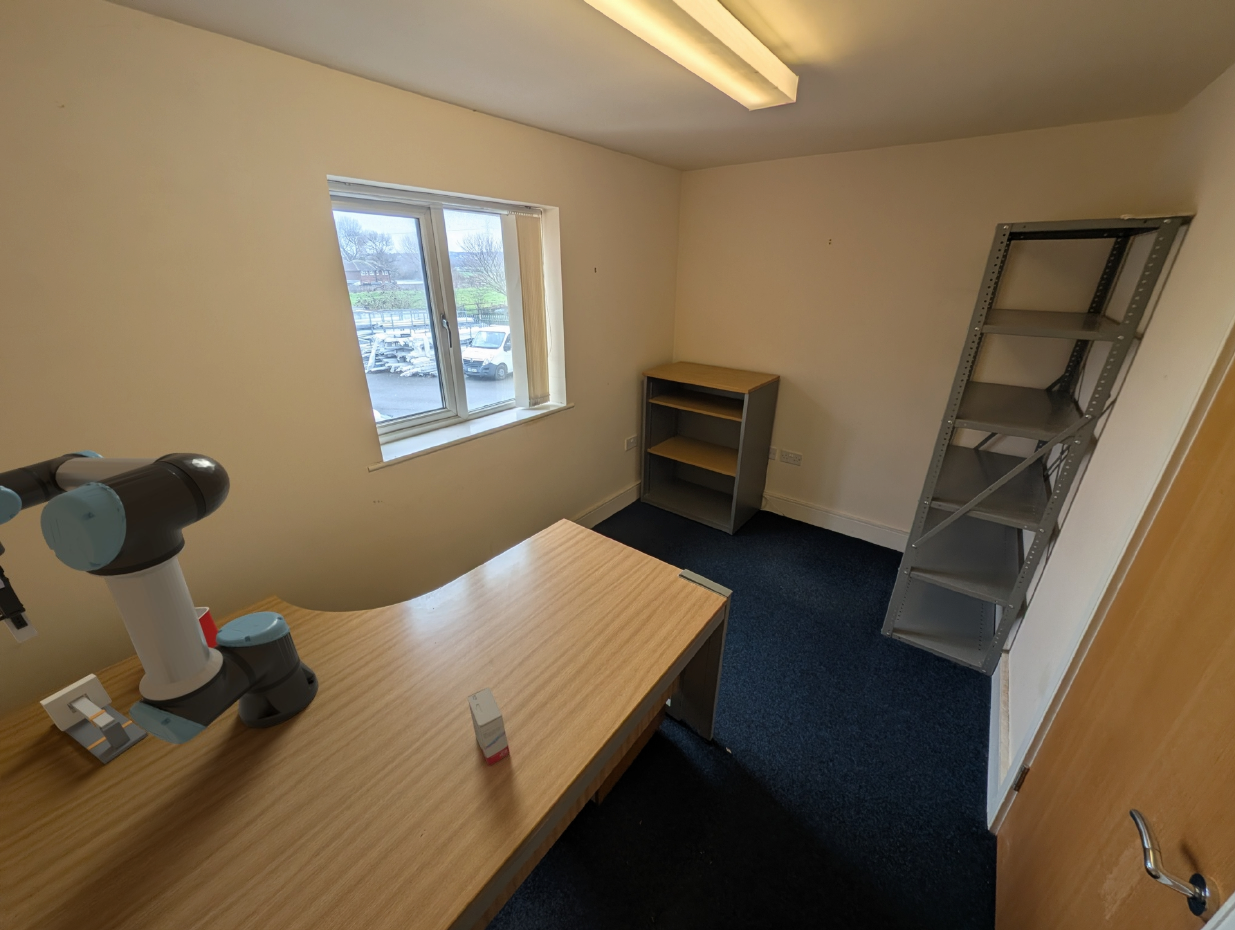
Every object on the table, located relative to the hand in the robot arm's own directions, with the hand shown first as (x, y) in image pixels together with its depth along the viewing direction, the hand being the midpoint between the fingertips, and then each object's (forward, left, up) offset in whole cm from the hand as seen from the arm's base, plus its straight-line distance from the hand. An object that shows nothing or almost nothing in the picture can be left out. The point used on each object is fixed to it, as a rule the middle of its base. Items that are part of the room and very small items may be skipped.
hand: (27, 637), depth 95 cm
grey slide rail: (-11, 0, -22) cm, 25 cm away
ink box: (-93, -32, -22) cm, 101 cm away
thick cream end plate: (-6, 0, -20) cm, 21 cm away
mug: (-2, -21, -22) cm, 31 cm away
